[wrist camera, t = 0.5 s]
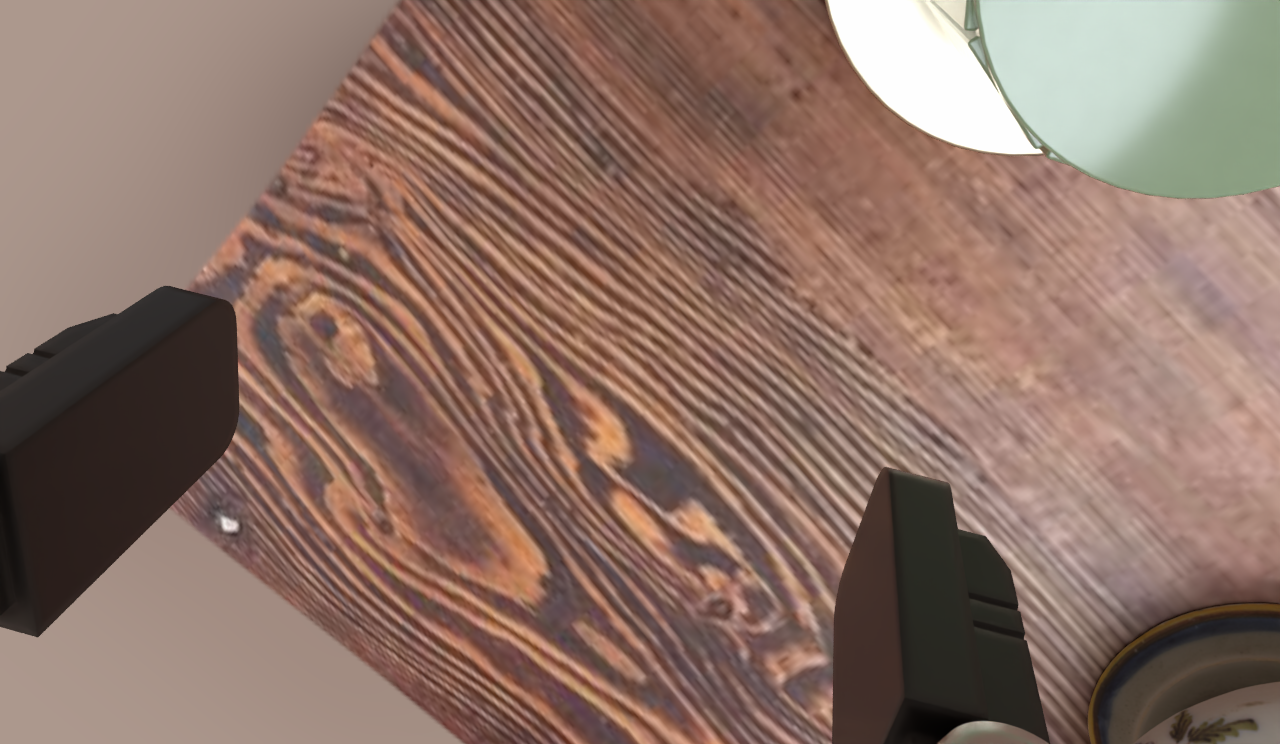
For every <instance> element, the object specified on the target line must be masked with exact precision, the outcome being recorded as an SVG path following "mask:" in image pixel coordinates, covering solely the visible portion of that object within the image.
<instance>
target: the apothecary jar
mask: <svg viewBox="0 0 1280 744" xmlns="http://www.w3.org/2000/svg"><path fill="white" fill-rule="evenodd" d="M1088 732H1089V738H1090V742H1091V744H1280V604H1267V603H1244V604H1230V605H1223V606H1217V607H1211V608H1205V609H1202V610H1197V611H1194V612H1190V613H1187V614H1184V615H1181V616H1179V617H1176V618H1174V619H1171V620H1168V621H1166V622H1163V623H1161V624H1160V625H1158V626H1156V627H1154V628H1152V629H1151V630H1149V631H1148V632H1146V633H1145V634H1143V635H1142V636H1140V637H1139V638H1137V639H1136V640H1135V641H1133V642H1132V643H1130V644H1129V645H1128V646H1126V647H1125V648H1124V649H1123V650H1122V651H1121V652H1120V653H1119V654H1118V655H1117V656H1116V657H1115V658H1114V659H1113V660H1112V661H1111V663H1110V664H1109V665H1108V667H1107V668H1106V669H1105V671H1104V672H1103V674H1102V676H1101V677H1100V679H1099V681H1098V683H1097V685H1096V687H1095V689H1094V692H1093V695H1092V697H1091V701H1090V705H1089V710H1088Z"/></svg>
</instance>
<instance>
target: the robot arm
mask: <svg viewBox="0 0 1280 744" xmlns="http://www.w3.org/2000/svg"><path fill="white" fill-rule="evenodd" d="M238 417H239V384H238V353H237V323H236V315H235V311H234V309H233V307H232V305H231V304H230V303H229V302H228V301H226V300H223V299H219V298H215V297H211V296H207V295H203V294H199V293H195V292H191V291H187V290H183V289H179V288H175V287H171V286H163V287H160V288H158V289H156V290H155V291H153V292H152V293H150V294H149V295H147V296H146V297H144V298H142V299H141V300H139V301H138V302H136V303H135V304H133V305H132V306H130V307H129V308H127V309H126V310H124V311H123V312H121V313H119V314H114V313H113V314H110V315H107V316H104V317H101V318H98V319H95V320H91V321H88V322H85V323H82V324H79V325H75V326H72V327H69V328H67V329H65V330H64V331H62V332H61V333H59V334H58V335H56V336H54V337H53V338H51V339H49V340H48V341H47V342H45V343H43V344H41V345H40V346H38V347H37V348H35V349H34V353H33V354H29V353H27V354H25V355H24V356H22V357H21V358H19V359H18V360H16V361H14V362H13V363H11V364H9V365H8V366H7V369H6V371H5V372H1V371H0V627H3V628H7V629H10V630H14V631H17V632H21V633H25V634H28V635H32V636H35V637H39V636H40V635H41V634H42V633H43V632H44V631H45V630H46V629H47V628H48V627H49V626H50V625H51V624H52V623H53V622H54V621H55V620H56V619H57V618H58V617H59V616H60V615H61V614H62V613H63V612H64V611H65V610H66V609H67V608H68V607H69V606H70V605H71V604H72V603H73V602H74V601H75V600H76V599H77V598H78V597H79V596H80V595H81V594H82V593H83V592H84V591H85V590H86V589H87V588H88V587H89V586H90V585H92V584H93V582H95V581H96V579H97V578H99V577H100V575H102V574H103V573H104V572H105V571H106V570H107V569H108V568H109V567H110V566H111V565H112V564H113V563H114V562H115V561H116V560H117V559H118V558H119V557H120V556H121V555H122V554H123V553H124V552H125V551H126V550H127V549H128V548H129V547H130V546H131V545H132V544H133V543H134V542H135V541H136V540H137V539H138V538H139V537H140V536H141V535H142V534H143V533H144V532H145V531H146V530H147V529H148V528H149V527H150V526H151V525H152V524H153V523H154V522H155V521H156V520H157V519H158V518H159V517H161V516H162V514H163V513H165V512H166V511H167V510H168V509H169V508H170V507H171V506H172V505H173V504H174V503H175V502H176V501H177V500H178V499H179V498H180V497H181V496H182V495H183V494H184V493H185V492H186V491H187V490H188V489H189V488H190V487H191V486H192V485H193V484H194V483H195V482H196V481H197V480H198V479H199V478H200V477H201V476H202V475H203V474H204V473H205V472H206V471H207V470H208V469H209V468H210V467H211V466H212V465H213V464H214V463H215V462H216V461H217V460H218V459H219V458H220V457H221V456H222V455H223V454H224V452H225V451H226V449H227V448H228V446H229V444H230V442H231V440H232V438H233V435H234V433H235V430H236V426H237V422H238ZM1017 608H1018V600H1017V596H1016V591H1015V587H1014V583H1013V578H1012V574H1011V570H1010V569H1009V568H1008V566H1007V565H1006V563H1005V562H1004V561H1003V559H1002V558H1001V557H1000V555H999V554H998V553H997V551H996V550H995V548H994V547H993V546H992V544H991V543H990V542H989V540H988V539H987V537H986V536H982V535H978V534H974V533H971V532H967V531H963V530H959V529H958V528H957V522H956V516H955V510H954V504H953V498H952V492H951V487H950V485H949V483H947V482H944V481H940V480H936V479H932V478H928V477H924V476H920V475H916V474H912V473H908V472H904V471H900V470H896V469H892V468H888V467H884V468H883V469H882V471H881V472H880V474H879V476H878V478H877V480H876V483H875V485H874V488H873V491H872V493H871V496H870V499H869V501H868V504H867V507H866V510H865V512H864V515H863V518H862V521H861V523H860V526H859V529H858V531H857V534H856V537H855V540H854V542H853V545H852V548H851V550H850V553H849V556H848V559H847V561H846V564H845V567H844V570H843V573H842V577H841V580H840V584H839V589H838V594H837V599H836V605H835V613H834V653H833V726H832V744H1050V741H1049V736H1048V732H1047V727H1046V723H1045V719H1044V714H1043V710H1042V705H1041V701H1040V697H1039V692H1038V688H1037V684H1036V679H1035V675H1034V670H1033V666H1032V662H1031V657H1030V653H1029V648H1028V644H1027V641H1026V640H1024V635H1025V631H1024V627H1023V622H1022V618H1021V613H1020V612H1019V611H1017Z"/></svg>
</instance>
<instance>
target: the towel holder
mask: <svg viewBox="0 0 1280 744" xmlns="http://www.w3.org/2000/svg"><path fill="white" fill-rule="evenodd" d="M825 4H826V8H827V13H828V17H829V20H830V22H831V25H832V28H833V30H834V33H835V35H836V38H837V41H838V43H839V45H840V47H841V49H842V51H843V53H844V54H845V56H846V58H847V60H848V62H849V64H850V65H851V67H852V69H853V70H854V71H855V73H856V74H857V75H858V77H859V78H860V79H861V81H862V82H863V84H864V85H865V86H866V88H867V89H868V90H869V91H870V92H871V93H872V94H873V95H874V96H875V97H876V98H877V99H878V100H879V101H880V102H881V103H882V104H883V105H884V106H885V107H886V108H887V109H888V110H889V111H891V112H892V113H893V114H895V115H896V116H897V117H899V118H900V119H901V120H903V121H904V122H905V123H906V124H908V125H910V126H912V127H913V128H915V129H917V130H919V131H920V132H922V133H924V134H926V135H927V136H929V137H931V138H934V139H936V140H939V141H942V142H944V143H947V144H949V145H952V146H954V147H958V148H962V149H966V150H970V151H974V152H978V153H983V154H992V155H1001V156H1040V155H1044V154H1043V153H1042V152H1041V150H1040V149H1035V148H1033V146H1032V145H1031V144H1030V143H1029V142H1028V140H1027V139H1026V138H1025V137H1024V135H1023V134H1022V133H1021V132H1020V131H1019V129H1018V128H1017V127H1016V126H1015V125H1014V123H1013V122H1012V121H1011V120H1010V118H1009V117H1008V116H1007V115H1006V114H1005V112H1004V111H1003V110H1002V109H1001V108H1000V106H999V105H998V104H997V103H996V101H995V100H994V99H993V98H992V97H991V95H990V94H989V93H988V92H987V90H986V89H985V88H984V87H983V86H982V84H981V83H980V82H979V81H978V80H977V78H976V77H975V76H974V75H973V73H972V72H971V71H970V70H969V69H968V67H967V65H966V64H965V62H964V61H963V59H962V58H961V56H960V55H959V53H958V52H957V50H956V48H955V47H954V45H953V44H952V42H951V41H950V39H949V38H948V36H947V34H946V33H945V31H944V30H943V28H942V27H941V25H940V24H939V22H938V21H937V19H936V17H935V16H934V14H933V13H932V11H931V10H930V8H929V7H928V5H927V3H926V2H925V0H825Z"/></svg>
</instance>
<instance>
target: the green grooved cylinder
mask: <svg viewBox="0 0 1280 744" xmlns="http://www.w3.org/2000/svg"><path fill="white" fill-rule="evenodd" d="M925 2H926V3H927V5H928V7H929V8H930V10H931V11H932V13H933V14H934V16H935V17H936V19H937V21H938V22H939V24H940V25H941V27H942V28H943V30H944V31H945V33H946V34H947V36H948V38H949V39H950V41H951V42H952V44H953V45H954V47H955V48H956V50H957V52H958V53H959V55H960V56H961V58H962V59H963V61H964V62H965V64H966V65H967V67H968V69H969V70H970V71H971V72H972V73H973V75H974V76H975V77H976V78H977V80H978V81H979V82H980V83H981V84H982V86H983V87H984V88H985V89H986V90H987V92H988V93H989V94H990V95H991V97H992V98H993V99H994V100H995V101H996V103H997V104H998V105H999V106H1000V108H1001V109H1002V110H1003V111H1004V112H1005V114H1006V115H1007V116H1008V117H1009V118H1010V120H1011V121H1012V122H1013V123H1014V125H1015V126H1016V127H1017V128H1018V129H1019V131H1020V132H1021V133H1022V134H1023V135H1024V137H1025V138H1026V139H1027V140H1028V142H1029V143H1030V144H1031V145H1032V146H1033V148H1035V149H1040V150H1041V152H1042V153H1043V154H1044V155H1045V156H1046V157H1047V158H1048V159H1050V160H1054V161H1057V162H1060V163H1063V164H1066V165H1069V166H1072V167H1073V168H1075V169H1077V170H1079V171H1080V172H1082V173H1084V174H1086V175H1088V176H1089V177H1092V178H1094V179H1097V180H1099V181H1102V182H1104V183H1107V184H1109V185H1112V186H1114V187H1117V188H1121V189H1125V190H1129V191H1133V192H1137V193H1141V194H1145V195H1151V196H1160V197H1168V198H1177V199H1207V198H1219V197H1227V196H1235V195H1244V194H1248V193H1252V192H1257V191H1261V190H1265V189H1269V188H1274V187H1278V186H1280V0H925Z"/></svg>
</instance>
